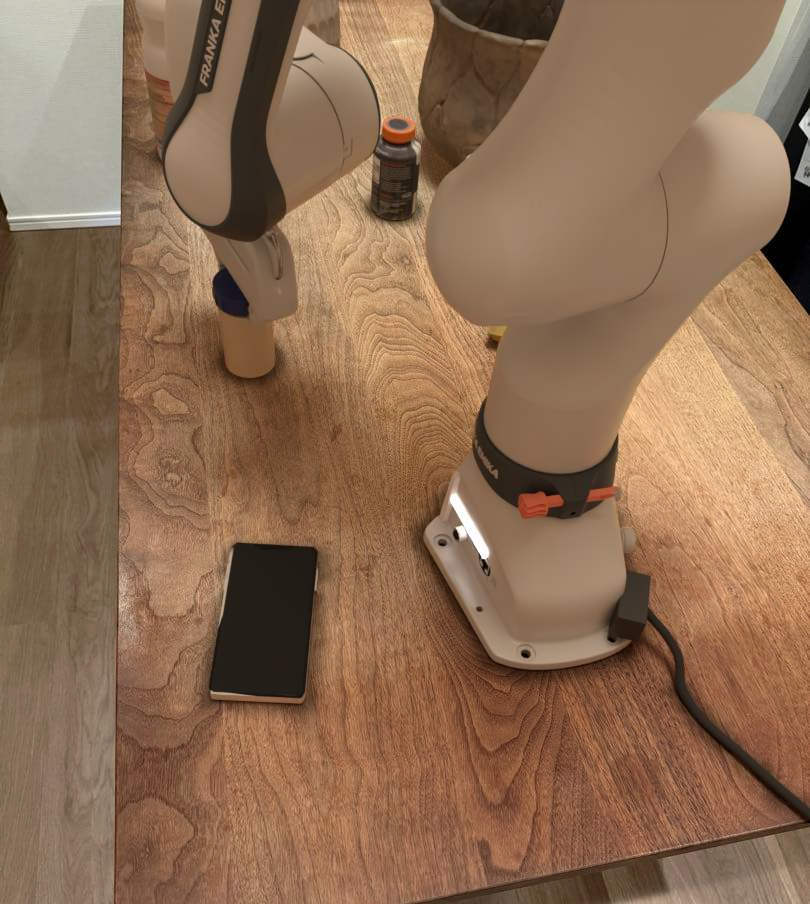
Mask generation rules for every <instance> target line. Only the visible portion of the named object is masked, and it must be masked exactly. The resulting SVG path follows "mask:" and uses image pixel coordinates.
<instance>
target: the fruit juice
mask: <svg viewBox="0 0 810 904" xmlns="http://www.w3.org/2000/svg"><path fill="white" fill-rule="evenodd" d="M134 3H135V9H136V12H137V16H138V17H139V20H140V23H141V24H142V28H143V31H142V35H141V41H140V42H141V45H140V46H141V56H142V63H143V69H144V73H145V74H144V75H145V82H146V88H147V93H148V100H149V107H150V114H151V119H152V126H153V133H154V139H155V144H156V151H157V154H158V157H159V159H160V160H161V162H162V157H161V146H162V135H163V129H164V125H165V121H166V118H167V115H168V113H169V111H170V110H171V108H172V106H173V105H174V101H173V98H172V95H171V91H170V84H169V78H168V70H167V61H166V49H165V34H164V14H165V3H166V0H134Z"/></svg>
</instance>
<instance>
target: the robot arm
mask: <svg viewBox="0 0 810 904" xmlns="http://www.w3.org/2000/svg"><path fill="white" fill-rule="evenodd" d="M313 1H314V0H166V3H165V14H164V34H165V49H166V61H167V70H168V78H169V84H170V91H171V95H172V98H173V101H174V105H173V106H172V108H171V110H170V111H169V113H168V115H167V118H166V121H165V125H164V129H163V135H162V146H161V157H162V161H161V167H162V174H163V177H164V178H163V179H164V182H165V185H166V187H167V190H168V192H169V195H170V196H171V198H172V200H173V202H174V203H175V205H176V206H177V208H178V209H179V211H180V212H181V213H182V214H183V215H184V216H185V217H186V218H187V219H188V220H189V221H190V222H192V223H193V224H195V225H196V226H198V227H199V228H200V229H201V230H202V232H203V234H204V235H205V237H206V238H207V240H208V241H209V243H210V245H211V247H212V250H213V253H214V255H215V259H216V262H217V267H218V268H217V269H218V272H219V271H220V270H221V269H223V268H225V267H226V268H227V269H228V271H229V273H230V274H231V276H232V277H233V279H234V280H235V282H236V283H237V285H238V287H239V288H240V290H241V291H242V293H243V294H244V296H245V297H246V299H247V301H248V302H249V305H245V306H246V313H247V314H246V317H247V318H248V320H249V322H250V324H251V325H252V326H253V327H255V328H256V327H260V326H263V325H266V324H267V323H268V322H271V321H273V322H275V321H279V320H282V319H286V318H289V317H292V316H294V314H295V313H296V312H297V311H298V309H299V295H298V282H297V275H296V265H295V258H294V254H293V250H292V246H291V244H290V242H289V240H288V237H287V236H286V234H285V232H283V230H282V229H281V228H280V226H279V225H278V224H279V223H280V222H281V221H282V220H284V218H285V217H286V216H287V215H288V214H290V213H291V212H293V211H294V210H296V209H297V208H298V207H300V206H302V205H303V204H305V203H306V202H308V201H310V200H311V199H313V198H314V197H316V196H317V195H319V194H320V193H321V192H323V191H325V190H326V189H328V188H329V187H330V186H332V185H333V184H334V183H335V182H337V181H339V180H340V179H342V178H343V177H345V176H346V175H348V174H350V173H351V172H353V171H354V170H356V168H359V166H360V165H361V164H363V163H364V162H366V161H367V160H369V159H370V158H371V156H373V152H374V151H375V149H376V146H377V144H378V140H379V135H381V128H382V127H381V126H382V115H381V106H380V101H379V97H378V94H377V91H376V88H375V85H374V83H373V80H372V78H371V77H370V75H369V72H368V71H367V70H366V68H365V67H364V66H363V64H362V63H360V61H359V60H358V59H357V58H355V56H353V55H352V54H351V53H350V52H349V51H347V50H345V49H344V48H342V47H341V46H340V47H338V46H336V45H333V44H330V43H326V42H324V41H323V40H321V39H320V38H319V37H317V36H316V35H315V34H313V33H312V32H311V31H310V30H308V29H307V28H306V27H305V26H304V25H303V24H304V21H305V18H306V16H307V13H308V11H309V9H310V7H311V5H312V3H313ZM786 3H787V0H565V1H564V4H563V7H562V10H561V12H560V15H559V18H558V21H557V23H556V26H555V28H554V30H553V33H552V35H551V37H550V39H549V42H548V44H547V46H546V48H545V50H544V52H543V54H542V55H541V57H540V59H539V61H538V63H537V65H536V67H535V69H534V70H533V72H532V74H531V76H530V77H529V79H528V81H527V83H526V84H525V86H524V87H523V89H522V91H521V92H520V94H519V96H518V97H517V99H516V100H515V102H514V103H513V105H512V106H511V108H510V109H509V111H508V112H507V114H506V115H505V116H504V118H503V119H502V120H501V122H500V123H499V124H498V126H497V127H496V128H495V129H494V131H493V132H492V133H491V134H490V135H489V136H488V138H487V139H486V140H485V141H484V142H483V143H482V144H481V145H480V146H479V147H478V148H477V149H476V150H475V151H474V152H473V153H472V154H471V155H470V156H469V157H468V158H467V159H466V160H464V161H463V162H462V163H461V164H460V165H458V166H457V167H455V168H454V169H452V170H451V171H449V172H448V173H447V174H446V175H445V176H444V178H443V179H442V180H441V182H440V183H439V185H438V187H437V189H436V190H435V193H434V195H433V198H432V200H431V202H430V206H429V208H428V212H427V213H428V214H427V217H426V222H425V233H424V235H425V236H424V238H425V239H424V244H425V247H424V248H425V254H426V260H427V264H428V265H427V266H428V268H429V272H430V275H431V278H432V280H433V281H434V283H435V286H436V288H437V290H438V291H439V293H440V295H441V296H442V298H443V299H444V300H445V301H446V303H447V305H449V306H450V308H452V309H453V310H454V311H455V312H456V313H457V314H458V315H459V316H460V317H462V318H463V319H464V320H465V321H467V322H468V323H470V324H471V325H474V326H477V327H489V326H507V328H506V329H505V331H504V333H503V335H502V337H501V339H500V342H498V345H497V347H496V352H495V357H494V362H493V367H492V371H491V376H490V381H489V386H488V391H487V395H486V396H485V398H484V399H483V400H482V403H481V405H480V407H479V410H478V412H477V414H476V417H475V420H474V424H473V431H472V432H473V434H472V441H471V443H472V445H471V446H472V447H471V449H470V450H469V452H467V455H466V456H465V457H464V459H463V460H462V461H461V463H460V464H459V465H458V467H457V468H456V469H454V472H453V474H452V475H451V477H450V481H449V484H448V486H447V490H446V493H445V497H444V500H443V503H442V507H441V510H440V512H439V514H438V515H437V516H436V517H434V518H433V519H432V520H431V521H430V522H429V523H428V524H427V525H426V527H425V529H424V531H423V535H422V540H423V543H424V545H425V546H426V548H427V550H428V551H429V553H430V555H431V557H432V559H433V560H434V562H435V564H436V566H437V567H438V569H439V571H440V573H441V574H442V576H443V579H445V581H446V583H447V585H448V587H449V588H450V590H451V592H452V594H453V595H454V598H455V599H456V601H457V603H458V604H459V606H460V608H461V609H462V611H463V613H464V615H465V616H466V618H467V620H468V622H469V623H470V626H471V627H472V629H473V631H474V632H475V634H476V636H477V638H478V639H479V641H480V643H481V644H482V647H483V648H484V650H485V651H486V653H487V655H488V657H490V659H491V660H492V661H493V662H495V663H497V664H500V665H502V666H503V665H504V666H507V667H510V668H515V669H520V670H528V671H529V670H531V671H545V670H546V671H547V670H558V669H566V668H572V667H573V668H574V667H578V666H582V665H587V664H591V663H593V662H594V663H595V662H597V661H599V660H603V659H606V658H608V657H611V656H613V655H614V654H616V653H618V652H620V651H621V650H623V649H624V648H626V647H627V646H628V645H629V644H630V643H632V642H636V643H637V642H638V640H639V638H640V636H641V635H642V633H643V631H644V630H645V628H646V626H647V623H649V624H650V625H651V626H652V627H653V628H654V629H655V630H656V631H657V632H658V634H659V635H660V636H661V637H662V639H663V640H664V642H665V643H666V645H667V646H668V648H669V650H670V652H671V655H672V658H673V660H674V674H675V675H674V676H675V677H674V678H675V685H676V688H677V692H678V694H679V696H680V697H681V700H682V702H683V703H684V704H685V706H686V707H687V709H688V711H689V712H690V713H691V715H692V716H693V718H695V719H696V720H697V722H698V723H699V724H700V725H701V726H702V727H703V728H704V730H706V731H707V732H708V733H709V734H711V736H712V737H714V738H715V739H716V740H717V741H718V742H720V743H721V744H722V745H723V746H724V747H725V748H727V749H728V751H730V752H731V753H733V755H735V756H736V757H737V758H739V759H740V761H742V762H743V763H744V764H745V765H746V766H747V767H748V769H750V770H751V771H753V773H755V775H756V776H758V777H759V778H760V779H761V780H762V781H763V782H764V783H766V785H768V786H769V787H770V789H772V790H773V791H774V792H776V793H777V794H778V795H779V796H780V797H781V798H782V799H784V800H785V801H786V802H787V803H788V804H789V805H791V806H792V807H793V808H794V809H795V810H797V811H798V812H799V813H800V814H801V815H803V816H804V817H805V818H806V819H807V820H809V821H810V807H809V806H808V805H807V804H806V803H805V802H804V801H802V800H801V799H800V798H799V797H798V796H797V795H795V794H794V793H793V792H792V791H791V790H790V789H788V788H787V787H786V786H785V785H784V784H782V783H781V782H780V781H779V780H778V779H776V777H775V776H773V775H772V774H771V773H770V772H769V771H767V769H765V768H764V767H763V766H762V765H761V764H760V763H759V762H758V761H757V760H756V759H755V758H753V756H751V755H750V754H749V753H748V752H747V751H746V750H745V749H743V748H742V746H740V745H739V744H738V743H737V742H735V741H734V740H733V739H732V738H731V737H729V736H728V735H727V734H726V733H725V732H723V731H722V730H721V729H720V728H719V727H718V726H716V725H715V723H713V722H712V721H711V720H710V718H708V717H707V715H706V714H705V713H704V712H703V711H702V710H701V709H700V707H699V706H698V705H697V703H696V701H695V700H694V698H693V697H692V694H691V693H690V692H689V690H688V688H687V687H688V686H687V684H686V674H685V672H686V671H685V661H684V659H685V658H684V656H683V653H682V650H681V647H680V646H679V644H678V642H677V640H676V639H675V638H674V636H673V635H672V633H671V632H670V630H669V629H668V628H667V627H666V625H665V624H664V623H663V622H662V621H661V620H660V619H659V618H658V616H657V615H656V614H655V613H654V611H652V609H651V608H650V607H649V605H650V604H649V602H650V593H651V592H650V590H651V581H652V576H651V575H650V574H645V573H641V572H637V571H633V570H629V569H626V561H625V560H626V559H625V554H631V553H632V552H635V551H634V550H635V548H636V544H637V537H636V531H635V529H634V528H633V527H631V526H620V520H619V512H618V507H617V502H620V501H621V499H622V489H621V487H620V486H617V485H614V484H615V483H614V482H615V475H616V468H617V467H616V466H617V463H618V460H619V442H620V441H619V440H620V439H619V438H620V437H619V431H620V428H621V426H622V424H623V421H624V420H625V418H626V415H627V413H628V410H629V408H630V405H631V403H632V401H633V399H634V396H635V395H636V392H637V389H638V388H639V386H640V385H641V382H642V380H643V378H644V377H645V375H646V374H647V372H648V371H649V369H650V368H651V366H652V365H653V364H654V362H655V360H656V359H657V358H658V356H659V355H660V354H661V353H662V351H664V349H665V348H666V346H667V345H668V344H669V343H670V341H671V340H672V339H673V338H674V337H675V336H676V334H677V333H678V331H679V330H680V329H681V328H682V326H683V325H684V324H685V323H686V322H687V320H689V318H690V317H691V316H692V314H693V313H694V312H695V311H696V310H697V309H698V307H699V306H701V304H702V303H703V302H704V300H705V299H706V298H708V296H709V295H710V294H711V293H712V292H713V290H715V288H716V287H718V285H719V284H720V283H722V282H723V280H725V279H726V278H727V277H728V276H729V275H730V274H731V273H733V271H735V270H736V269H737V268H739V266H740V265H742V264H743V263H744V262H745V261H747V260H748V259H750V258H751V257H752V256H753V255H755V254H756V253H758V252H759V251H760V250H761V249H763V248H764V247H766V246H767V245H768V244H769V243H770V241H772V240H773V238H774V237H775V236H776V234H777V233H778V231H779V229H780V228H781V226H782V224H783V222H784V219H785V217H786V214H787V211H788V208H789V203H790V197H791V187H792V186H791V184H792V183H791V180H792V179H791V178H792V177H791V168H790V163H789V158H788V156H787V152H786V148H785V146H784V144H783V142H782V140H781V138H780V137H779V135H778V134H777V132H776V131H775V130H774V128H773V127H772V126H771V125H770V124H769V123H768V122H766V121H765V120H764V119H762V118H760V117H759V116H756V115H754V114H752V113H748V112H742V111H741V112H740V111H732V110H724V109H708V108H709V107H710V106H711V105H712V104H713V103H715V101H717V100H718V99H719V98H720V97H722V96H724V94H726V92H728V91H729V90H731V89H732V88H733V87H734V86H735V85H737V84H738V83H739V82H740V81H741V80H742V79H743V78H744V77H746V76H747V74H748V73H749V72H750V71H751V70H752V68H753V67H754V66H755V65H756V64H757V62H759V60H760V58H761V57H762V56H763V55H764V53H765V51H766V50H767V48H768V46H769V44H770V42H771V41H772V39H773V36H774V35H775V31H776V29H777V26H778V23H779V22H780V18H781V15H782V13H783V11H784V7H785V6H786ZM440 544H442V545H440ZM443 545H444V546H443ZM609 639H612V641H613V642H612V641H610V640H609ZM523 654H525V655H527V657H524V656H522V655H523Z"/></svg>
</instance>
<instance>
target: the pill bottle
mask: <svg viewBox="0 0 810 904" xmlns="http://www.w3.org/2000/svg"><path fill="white" fill-rule="evenodd" d="M381 126H382V127H381V128H382V129H381V133H380V135H379V140H378V144H377V146H376V149H375V151H374V152H373V154H372V170H371V187H370V190H371V191H370V208H371V210H372V211H373V213H374V214H376V215H377V216H379V217H381V218H383V219H386V220H392V221H399V220H404V219H407V218H410V217H411V216H413V215H414V213H415V212H416V209H417V201H418V200H417V199H418V190H419V180H420V179H419V178H420V169H421V156H422V144H421V143H420V141H419V140H418V138H416V123H415V122H414V121H413V120H412V119H410V118H408V117H405V116H399V115H397V116H395V115H394V116H389V117H386V118H385V119H384V120H383V122H382V124H381Z"/></svg>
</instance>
